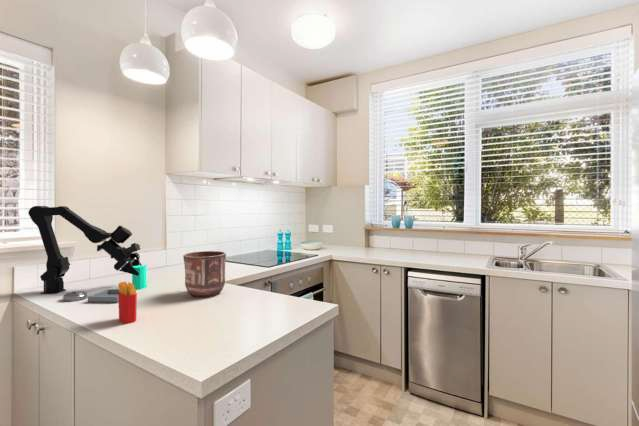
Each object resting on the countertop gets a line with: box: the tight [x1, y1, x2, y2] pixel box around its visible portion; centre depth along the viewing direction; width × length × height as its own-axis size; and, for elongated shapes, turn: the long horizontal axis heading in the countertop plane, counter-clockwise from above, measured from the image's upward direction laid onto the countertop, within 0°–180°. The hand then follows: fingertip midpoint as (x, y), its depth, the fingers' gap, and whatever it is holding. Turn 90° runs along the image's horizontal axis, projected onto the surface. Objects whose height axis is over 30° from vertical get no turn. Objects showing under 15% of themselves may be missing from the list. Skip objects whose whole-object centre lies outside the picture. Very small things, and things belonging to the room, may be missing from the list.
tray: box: [87, 288, 119, 304], centre depth 135 cm, size 12×12×2 cm
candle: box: [131, 262, 148, 291], centre depth 153 cm, size 6×6×12 cm
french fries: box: [118, 281, 138, 324], centre depth 109 cm, size 9×4×13 cm, turn 48°
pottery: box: [183, 250, 227, 298], centre depth 143 cm, size 18×18×18 cm
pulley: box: [62, 290, 88, 303], centre depth 134 cm, size 8×8×3 cm
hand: (141, 272), depth 153 cm, fingers open, 9 cm apart
